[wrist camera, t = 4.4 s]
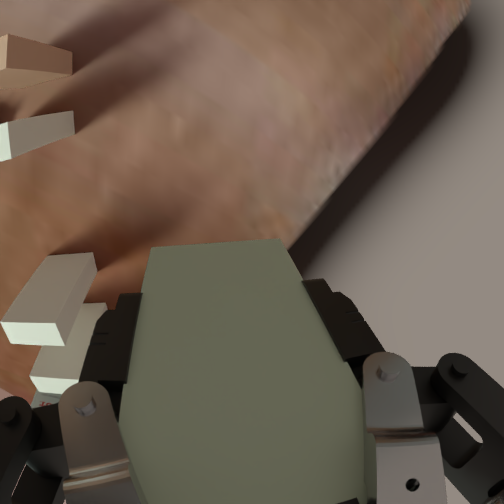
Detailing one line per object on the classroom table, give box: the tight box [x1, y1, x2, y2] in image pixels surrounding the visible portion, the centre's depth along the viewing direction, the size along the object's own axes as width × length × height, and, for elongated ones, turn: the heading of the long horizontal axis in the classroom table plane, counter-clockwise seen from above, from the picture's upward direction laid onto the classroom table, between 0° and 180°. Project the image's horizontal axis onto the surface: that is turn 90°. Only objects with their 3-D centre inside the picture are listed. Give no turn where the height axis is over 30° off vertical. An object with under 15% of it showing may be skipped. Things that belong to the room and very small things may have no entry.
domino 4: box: [119, 239, 367, 504], centre depth 8 cm, size 2×5×10 cm, turn 89°
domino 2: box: [1, 252, 97, 346], centre depth 21 cm, size 2×5×10 cm, turn 90°
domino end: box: [0, 34, 72, 90], centre depth 13 cm, size 2×5×10 cm, turn 90°
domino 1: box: [0, 111, 75, 161], centre depth 16 cm, size 2×5×10 cm, turn 89°
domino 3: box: [29, 303, 108, 394], centre depth 24 cm, size 2×5×10 cm, turn 89°
